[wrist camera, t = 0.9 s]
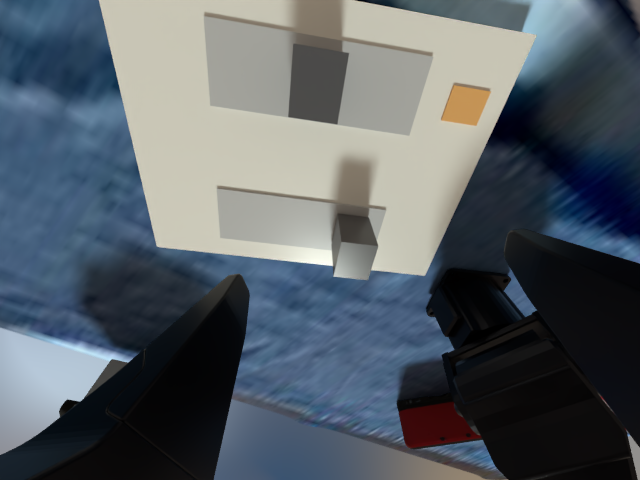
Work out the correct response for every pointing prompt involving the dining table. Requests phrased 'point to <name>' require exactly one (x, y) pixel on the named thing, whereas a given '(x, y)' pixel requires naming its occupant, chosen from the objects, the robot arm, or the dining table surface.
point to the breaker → (353, 247)
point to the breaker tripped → (317, 83)
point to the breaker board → (306, 122)
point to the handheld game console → (433, 422)
